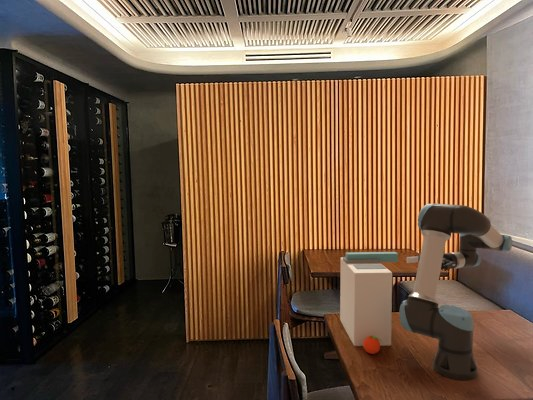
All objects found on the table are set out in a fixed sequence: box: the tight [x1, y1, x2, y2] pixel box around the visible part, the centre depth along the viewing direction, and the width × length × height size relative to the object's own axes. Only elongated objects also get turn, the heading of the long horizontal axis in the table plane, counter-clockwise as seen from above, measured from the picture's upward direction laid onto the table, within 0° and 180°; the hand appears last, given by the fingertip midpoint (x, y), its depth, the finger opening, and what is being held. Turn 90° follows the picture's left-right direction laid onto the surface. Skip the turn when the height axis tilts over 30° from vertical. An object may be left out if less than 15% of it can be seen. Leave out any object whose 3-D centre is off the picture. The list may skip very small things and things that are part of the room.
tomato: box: [362, 336, 381, 355], centre depth 167 cm, size 8×7×7 cm
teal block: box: [345, 251, 399, 263], centre depth 192 cm, size 24×4×4 cm, turn 91°
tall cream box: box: [339, 256, 393, 347], centre depth 188 cm, size 16×30×34 cm, turn 1°
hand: (416, 263), depth 187 cm, fingers open, 13 cm apart
